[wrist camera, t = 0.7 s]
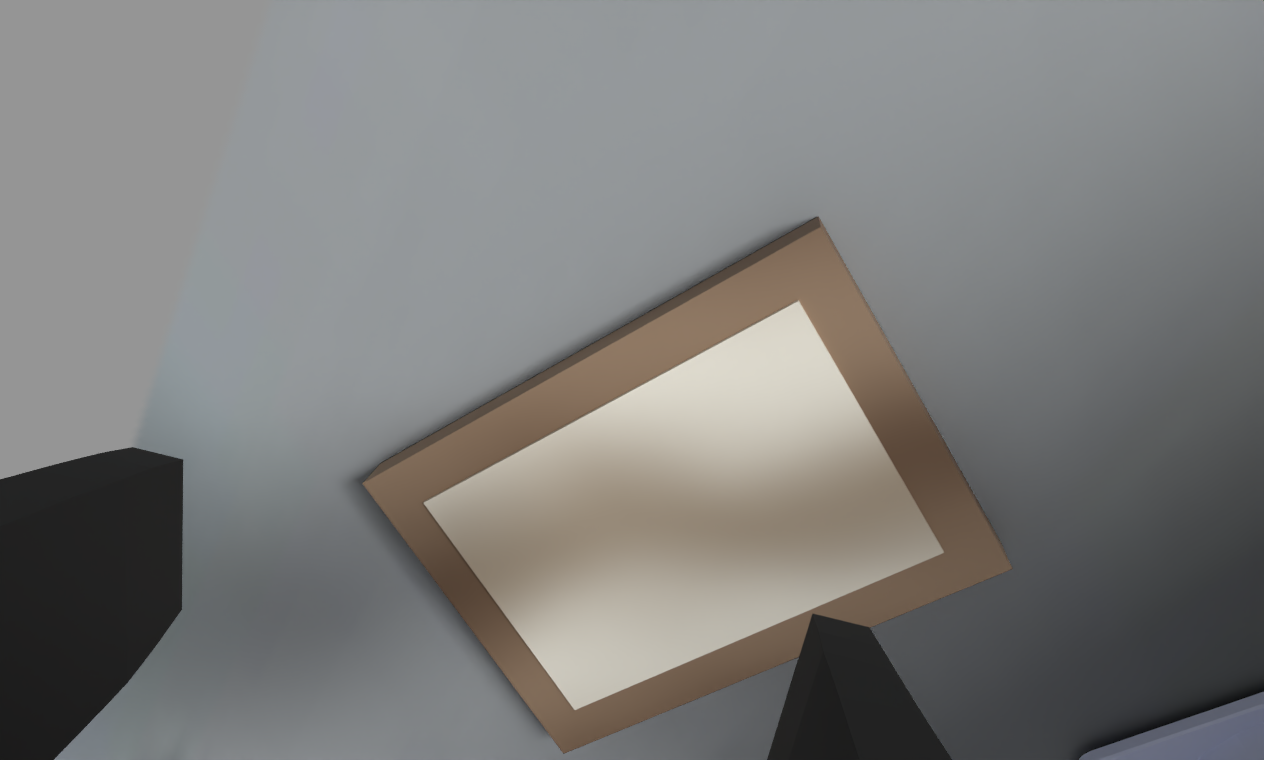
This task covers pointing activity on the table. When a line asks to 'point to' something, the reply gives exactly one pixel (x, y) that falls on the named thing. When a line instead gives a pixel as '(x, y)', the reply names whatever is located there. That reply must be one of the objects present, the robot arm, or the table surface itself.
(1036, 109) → the table surface
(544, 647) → the brown picture frame
